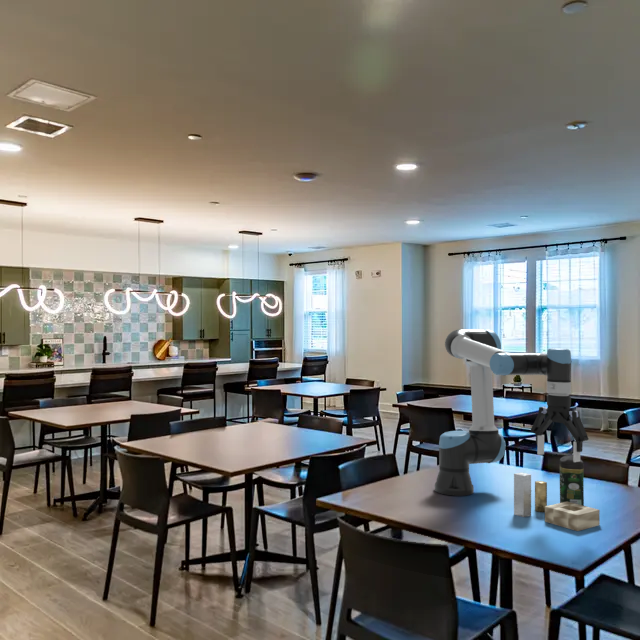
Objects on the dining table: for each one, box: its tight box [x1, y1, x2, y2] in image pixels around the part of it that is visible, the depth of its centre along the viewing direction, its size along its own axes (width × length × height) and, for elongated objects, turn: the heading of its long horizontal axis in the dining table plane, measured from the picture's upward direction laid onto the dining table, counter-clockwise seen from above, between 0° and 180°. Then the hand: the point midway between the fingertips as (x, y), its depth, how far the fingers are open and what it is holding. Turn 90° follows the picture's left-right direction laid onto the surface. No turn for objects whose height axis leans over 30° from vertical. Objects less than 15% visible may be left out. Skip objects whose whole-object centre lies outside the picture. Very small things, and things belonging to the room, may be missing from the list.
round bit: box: [534, 480, 548, 513], centre depth 218 cm, size 4×4×10 cm
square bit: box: [513, 472, 532, 518], centre depth 212 cm, size 4×4×14 cm
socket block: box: [544, 502, 601, 532], centre depth 203 cm, size 12×12×5 cm
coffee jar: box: [559, 455, 585, 506], centre depth 221 cm, size 10×8×19 cm
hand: (558, 458), depth 206 cm, fingers open, 13 cm apart
